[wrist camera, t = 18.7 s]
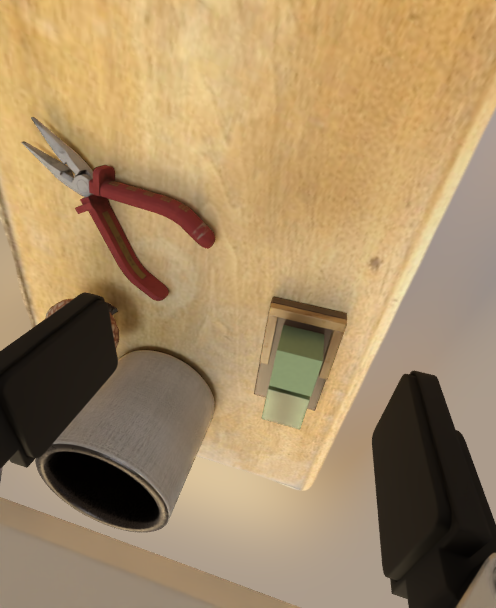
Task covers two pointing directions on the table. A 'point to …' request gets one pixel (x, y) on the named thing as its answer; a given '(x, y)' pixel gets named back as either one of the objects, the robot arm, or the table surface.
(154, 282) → the pliers
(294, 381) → the block
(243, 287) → the table surface
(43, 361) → the robot arm
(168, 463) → the planter
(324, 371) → the brown wooden rectangular tray
